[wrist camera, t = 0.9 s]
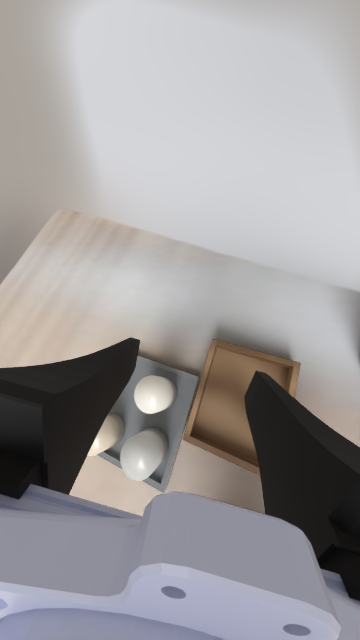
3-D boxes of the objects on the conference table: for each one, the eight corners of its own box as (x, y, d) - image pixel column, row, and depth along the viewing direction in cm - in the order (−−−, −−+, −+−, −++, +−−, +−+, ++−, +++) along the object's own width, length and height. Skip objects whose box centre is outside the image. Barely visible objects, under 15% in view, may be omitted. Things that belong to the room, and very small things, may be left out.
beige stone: (117, 451, 24) (98, 462, 21) (94, 438, 26) (72, 446, 22) (129, 420, 25) (113, 425, 22) (106, 408, 26) (87, 412, 23)
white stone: (171, 414, 24) (160, 419, 20) (144, 402, 26) (128, 405, 22) (181, 383, 25) (173, 382, 21) (154, 373, 27) (142, 370, 23)
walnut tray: (273, 474, 21) (279, 484, 18) (186, 434, 24) (182, 439, 22) (293, 365, 24) (300, 363, 21) (213, 342, 27) (212, 338, 24)
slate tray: (166, 487, 22) (163, 493, 21) (86, 442, 26) (80, 445, 25) (199, 377, 26) (198, 376, 25) (124, 350, 29) (120, 349, 28)
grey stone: (162, 471, 23) (148, 489, 19) (133, 455, 24) (114, 469, 20) (173, 434, 24) (162, 444, 20) (145, 421, 25) (129, 428, 21)
